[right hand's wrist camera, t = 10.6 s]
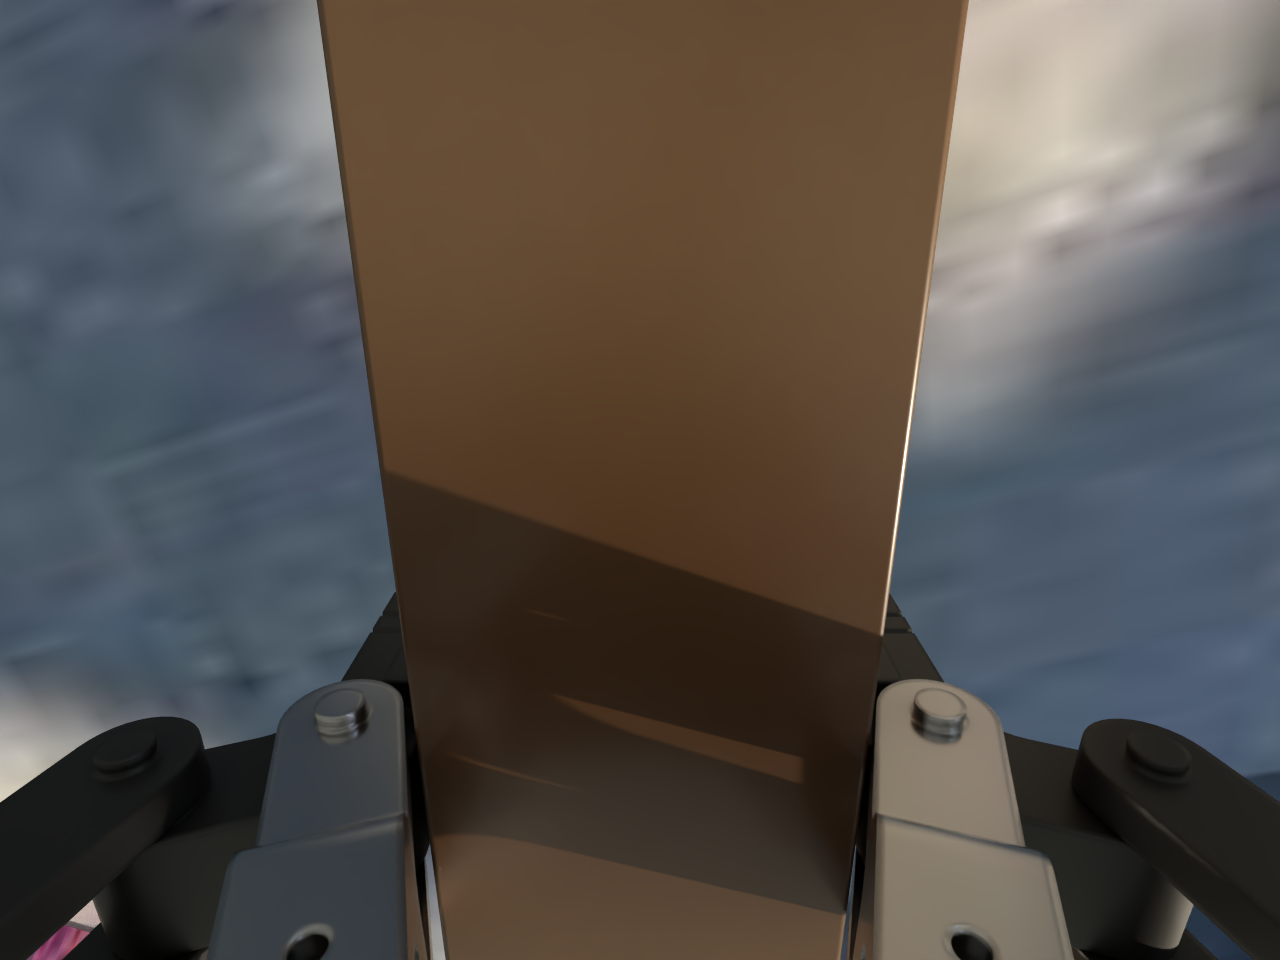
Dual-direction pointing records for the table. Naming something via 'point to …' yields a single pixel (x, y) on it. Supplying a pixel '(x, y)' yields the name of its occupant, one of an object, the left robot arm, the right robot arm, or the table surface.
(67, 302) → the table surface
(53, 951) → the headband
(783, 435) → the post
